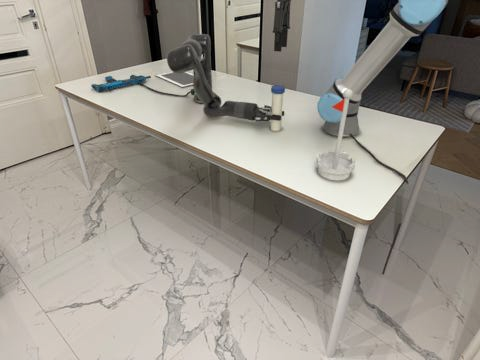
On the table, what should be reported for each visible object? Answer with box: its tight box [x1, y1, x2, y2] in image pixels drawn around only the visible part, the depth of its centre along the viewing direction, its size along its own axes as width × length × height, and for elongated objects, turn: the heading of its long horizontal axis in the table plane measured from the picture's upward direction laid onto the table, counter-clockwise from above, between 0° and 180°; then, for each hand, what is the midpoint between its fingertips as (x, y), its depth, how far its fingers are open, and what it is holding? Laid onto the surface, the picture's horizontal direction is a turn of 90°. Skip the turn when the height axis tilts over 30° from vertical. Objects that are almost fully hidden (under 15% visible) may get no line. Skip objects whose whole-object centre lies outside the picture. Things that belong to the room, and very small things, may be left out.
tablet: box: [155, 71, 194, 88], centre depth 216 cm, size 32×20×1 cm, turn 41°
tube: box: [270, 92, 284, 132], centre depth 147 cm, size 5×5×19 cm
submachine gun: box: [90, 74, 152, 92], centre depth 206 cm, size 34×4×25 cm
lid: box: [270, 84, 286, 94], centre depth 142 cm, size 6×6×2 cm
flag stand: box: [315, 89, 356, 181], centre depth 112 cm, size 13×13×30 cm
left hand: (282, 115), depth 147 cm, fingers closed on tube, 4 cm apart
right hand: (280, 48), depth 133 cm, fingers open, 8 cm apart
